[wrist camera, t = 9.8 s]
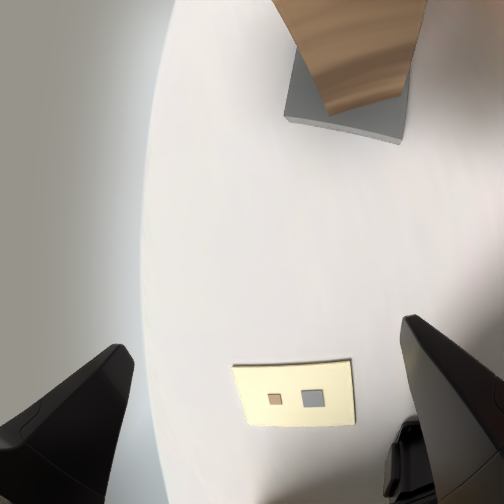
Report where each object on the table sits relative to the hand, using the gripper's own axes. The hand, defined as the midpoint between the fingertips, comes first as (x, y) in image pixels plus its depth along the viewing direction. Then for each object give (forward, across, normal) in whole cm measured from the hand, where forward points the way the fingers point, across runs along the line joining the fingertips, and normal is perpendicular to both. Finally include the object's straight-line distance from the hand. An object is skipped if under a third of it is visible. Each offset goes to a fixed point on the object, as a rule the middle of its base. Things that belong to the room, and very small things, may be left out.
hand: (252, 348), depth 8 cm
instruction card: (+7, 0, +13) cm, 15 cm away
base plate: (+13, -7, -7) cm, 16 cm away
